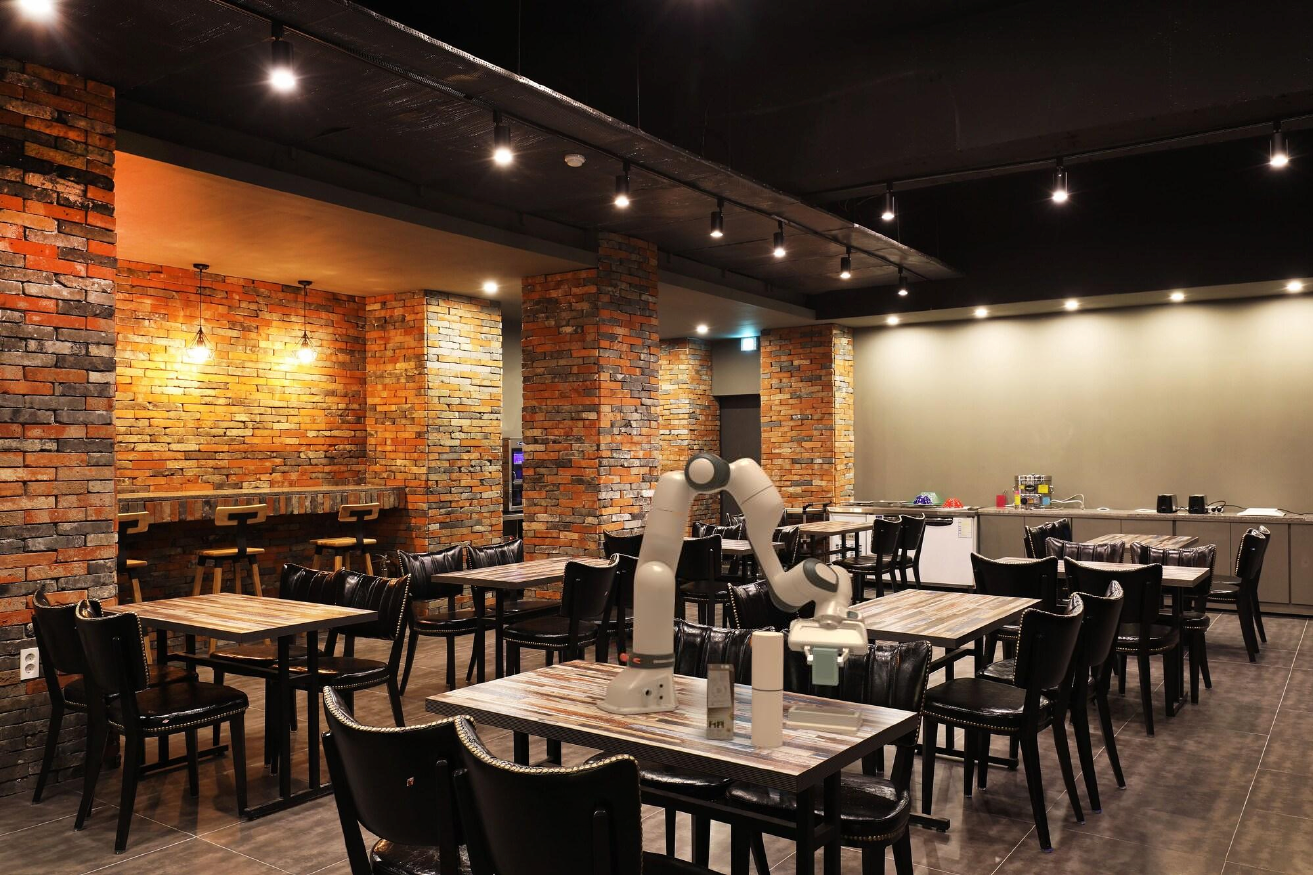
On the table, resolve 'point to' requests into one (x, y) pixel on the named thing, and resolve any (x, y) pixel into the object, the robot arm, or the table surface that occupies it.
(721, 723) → the coffee box
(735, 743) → the table surface
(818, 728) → the track
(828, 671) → the door
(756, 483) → the robot arm
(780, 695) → the cylindrical container
